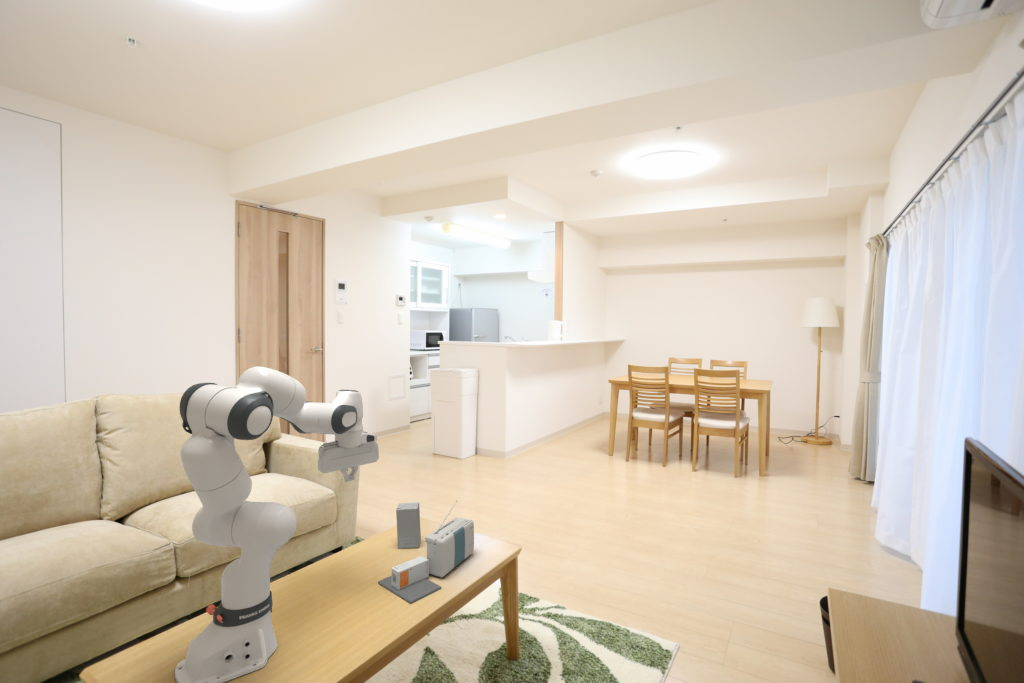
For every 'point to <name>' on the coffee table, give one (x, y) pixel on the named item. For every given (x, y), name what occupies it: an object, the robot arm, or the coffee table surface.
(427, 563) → the skincare box
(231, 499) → the robot arm
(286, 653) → the coffee table surface
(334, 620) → the coffee table surface
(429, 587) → the mat
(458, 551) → the stereo radio cassette player
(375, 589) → the coffee table surface
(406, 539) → the skincare box
